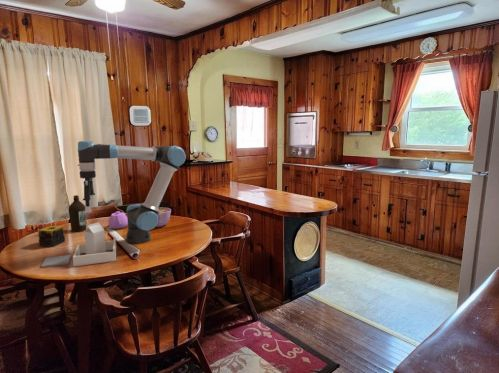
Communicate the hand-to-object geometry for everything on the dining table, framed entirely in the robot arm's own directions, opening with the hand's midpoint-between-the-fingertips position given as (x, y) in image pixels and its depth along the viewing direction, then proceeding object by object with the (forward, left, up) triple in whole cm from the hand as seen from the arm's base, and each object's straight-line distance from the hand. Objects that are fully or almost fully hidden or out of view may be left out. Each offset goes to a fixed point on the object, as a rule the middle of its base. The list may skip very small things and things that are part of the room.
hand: (90, 209), depth 172 cm
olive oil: (+14, -58, -27) cm, 66 cm away
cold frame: (-1, +1, -27) cm, 27 cm away
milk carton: (-1, +1, -27) cm, 27 cm away
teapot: (-12, -55, -27) cm, 63 cm away
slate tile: (+18, +1, -27) cm, 32 cm away
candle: (+26, -33, -27) cm, 50 cm away
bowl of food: (-39, -50, -27) cm, 69 cm away
